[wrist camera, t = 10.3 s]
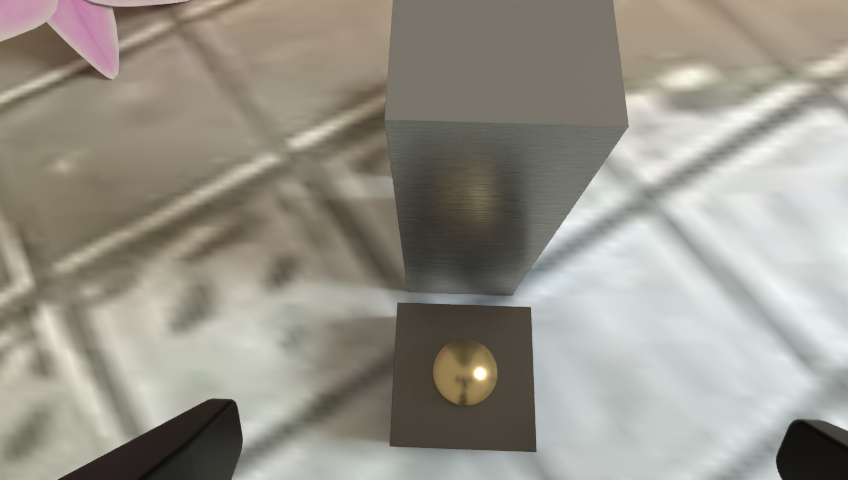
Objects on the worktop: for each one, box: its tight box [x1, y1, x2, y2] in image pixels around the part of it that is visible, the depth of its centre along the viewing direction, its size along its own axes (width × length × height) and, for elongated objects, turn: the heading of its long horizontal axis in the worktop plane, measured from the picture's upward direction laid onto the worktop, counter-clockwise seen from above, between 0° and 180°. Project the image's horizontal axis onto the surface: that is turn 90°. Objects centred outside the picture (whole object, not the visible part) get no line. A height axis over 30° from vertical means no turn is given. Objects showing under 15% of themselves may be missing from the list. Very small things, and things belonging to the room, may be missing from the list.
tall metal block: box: [385, 0, 629, 295], centre depth 16 cm, size 4×4×13 cm
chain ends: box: [390, 303, 536, 452], centre depth 21 cm, size 16×5×3 cm, turn 178°
